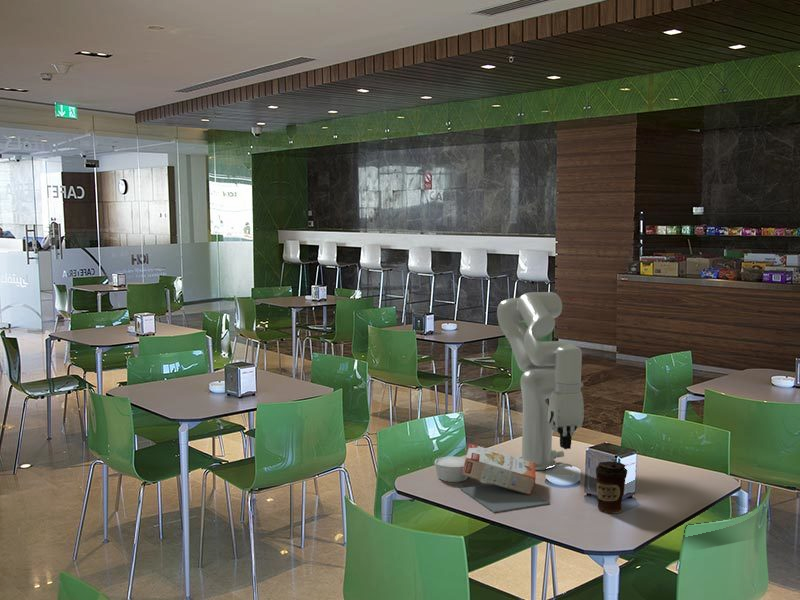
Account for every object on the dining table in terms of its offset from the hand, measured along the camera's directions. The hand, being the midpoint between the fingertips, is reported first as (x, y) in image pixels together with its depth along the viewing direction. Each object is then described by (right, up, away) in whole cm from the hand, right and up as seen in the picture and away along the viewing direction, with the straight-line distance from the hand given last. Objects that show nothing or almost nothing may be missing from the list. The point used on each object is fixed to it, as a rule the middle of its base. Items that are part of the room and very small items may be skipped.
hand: (565, 447), depth 234 cm
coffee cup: (+9, -14, -17) cm, 24 cm away
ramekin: (-33, -11, +9) cm, 36 cm away
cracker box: (-9, -9, -1) cm, 13 cm away
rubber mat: (-19, -13, -7) cm, 24 cm away
